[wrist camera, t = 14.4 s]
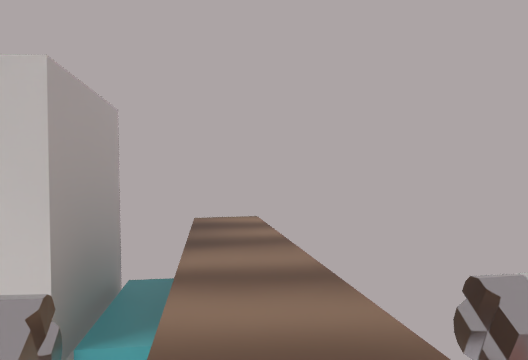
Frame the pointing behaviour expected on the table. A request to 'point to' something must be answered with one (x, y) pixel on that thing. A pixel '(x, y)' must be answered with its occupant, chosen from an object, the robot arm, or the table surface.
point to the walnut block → (270, 304)
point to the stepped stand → (68, 212)
